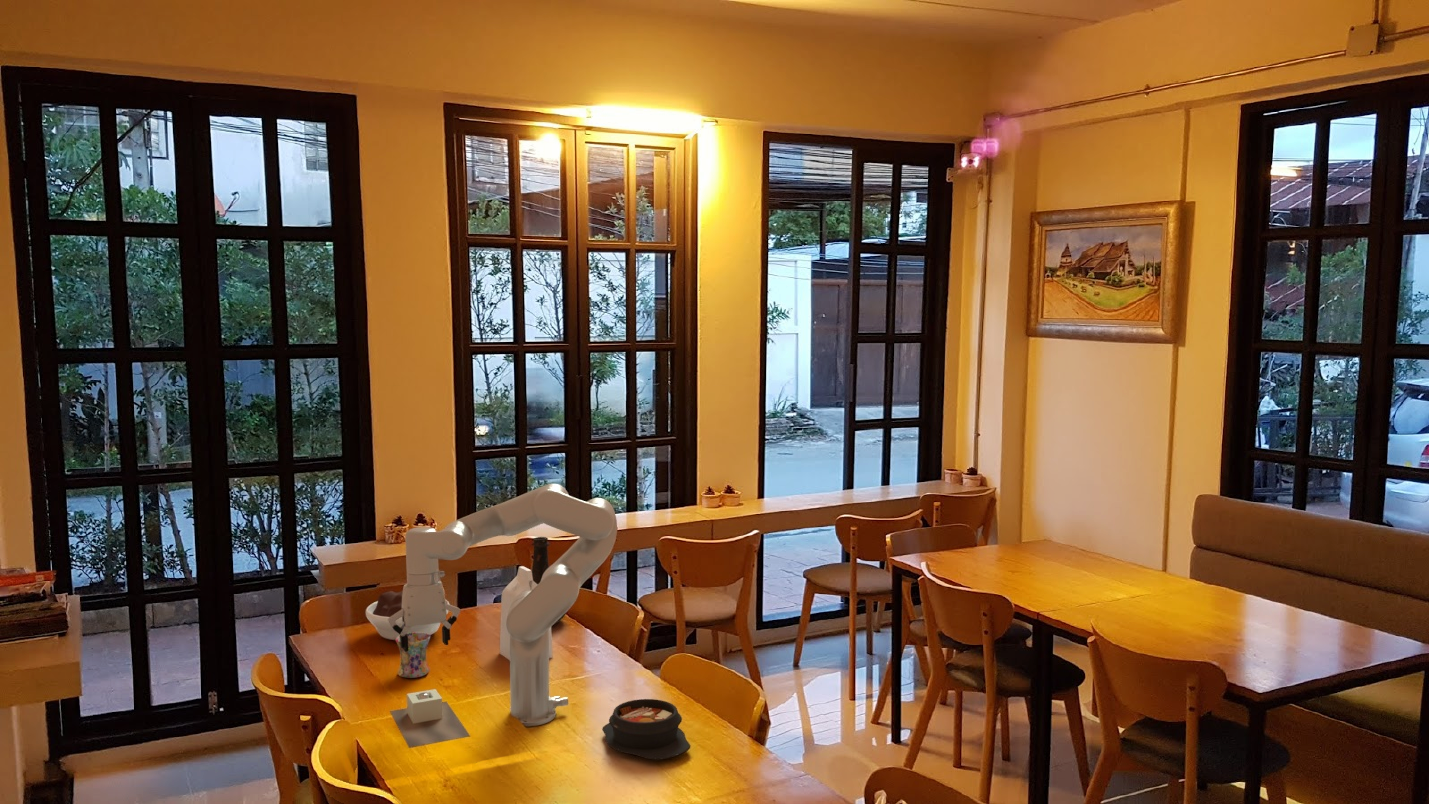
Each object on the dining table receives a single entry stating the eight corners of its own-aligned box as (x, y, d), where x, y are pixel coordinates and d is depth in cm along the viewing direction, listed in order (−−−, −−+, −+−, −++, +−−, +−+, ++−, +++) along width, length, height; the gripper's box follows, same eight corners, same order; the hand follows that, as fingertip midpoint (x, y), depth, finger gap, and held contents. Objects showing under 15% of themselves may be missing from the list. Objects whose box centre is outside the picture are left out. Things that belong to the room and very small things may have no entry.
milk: (553, 657, 300) (552, 570, 298) (516, 665, 294) (514, 575, 291) (535, 646, 310) (534, 561, 308) (499, 653, 303) (498, 567, 301)
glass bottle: (543, 635, 321) (542, 546, 318) (502, 625, 330) (500, 539, 328) (581, 620, 335) (580, 536, 333) (540, 611, 345) (539, 529, 343)
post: (426, 710, 256) (426, 689, 256) (430, 716, 252) (430, 695, 252) (416, 712, 255) (416, 690, 255) (420, 718, 251) (420, 696, 251)
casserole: (583, 737, 244) (583, 703, 244) (649, 718, 256) (649, 686, 255) (641, 775, 225) (641, 738, 224) (709, 753, 236) (709, 718, 235)
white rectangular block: (442, 718, 251) (442, 698, 251) (413, 723, 248) (412, 703, 248) (436, 708, 257) (435, 689, 257) (407, 713, 254) (406, 693, 254)
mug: (437, 674, 286) (436, 637, 285) (407, 683, 279) (406, 645, 278) (415, 664, 294) (414, 627, 293) (385, 672, 287) (384, 635, 286)
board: (446, 707, 262) (446, 701, 262) (470, 742, 241) (470, 736, 241) (389, 717, 256) (389, 711, 256) (409, 753, 235) (409, 747, 234)
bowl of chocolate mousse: (437, 649, 307) (436, 600, 305) (354, 648, 307) (352, 599, 306) (459, 624, 331) (458, 578, 330) (382, 623, 332) (381, 577, 330)
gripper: (454, 570, 258) (457, 637, 259) (383, 579, 249) (386, 648, 251) (462, 577, 251) (464, 645, 253) (389, 587, 243) (392, 657, 244)
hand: (425, 646), depth 252 cm, fingers open, 9 cm apart
